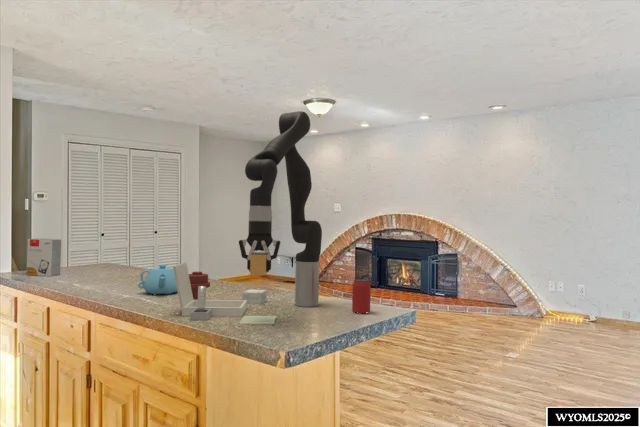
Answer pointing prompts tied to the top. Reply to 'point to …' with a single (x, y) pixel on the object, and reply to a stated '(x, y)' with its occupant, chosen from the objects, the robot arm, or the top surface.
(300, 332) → the top surface
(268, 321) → the pad
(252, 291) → the small box
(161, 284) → the teapot
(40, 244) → the hard drive box
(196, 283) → the mechanical component
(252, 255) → the module
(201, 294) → the rod
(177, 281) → the case
